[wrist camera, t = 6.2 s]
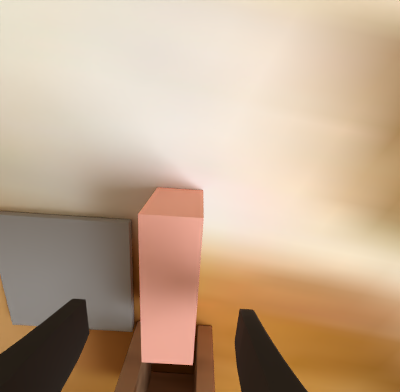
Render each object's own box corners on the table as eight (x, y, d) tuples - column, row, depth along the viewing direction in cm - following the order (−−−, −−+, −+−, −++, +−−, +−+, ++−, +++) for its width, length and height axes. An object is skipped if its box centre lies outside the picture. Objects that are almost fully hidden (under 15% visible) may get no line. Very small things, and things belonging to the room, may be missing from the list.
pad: (134, 325, 19) (132, 331, 19) (18, 318, 19) (12, 324, 18) (131, 219, 16) (128, 223, 16) (-7, 210, 16) (-15, 213, 15)
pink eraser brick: (195, 303, 19) (192, 364, 14) (157, 301, 19) (141, 362, 14) (203, 189, 16) (203, 218, 11) (157, 186, 16) (137, 214, 11)
